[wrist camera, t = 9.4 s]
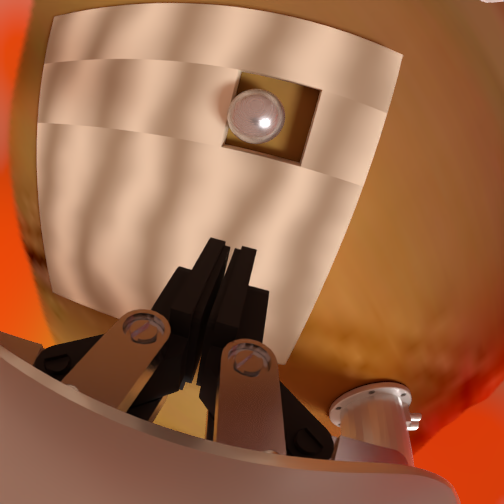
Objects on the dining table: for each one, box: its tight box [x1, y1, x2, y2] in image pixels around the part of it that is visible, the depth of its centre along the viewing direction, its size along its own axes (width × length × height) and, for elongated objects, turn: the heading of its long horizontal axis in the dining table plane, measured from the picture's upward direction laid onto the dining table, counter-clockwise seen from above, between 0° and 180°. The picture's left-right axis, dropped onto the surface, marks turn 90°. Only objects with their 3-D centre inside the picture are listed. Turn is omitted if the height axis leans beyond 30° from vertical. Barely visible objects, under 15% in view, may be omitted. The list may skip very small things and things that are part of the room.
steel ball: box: [227, 89, 285, 144], centre depth 19 cm, size 4×4×4 cm
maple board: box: [37, 3, 403, 365], centre depth 24 cm, size 30×32×2 cm
